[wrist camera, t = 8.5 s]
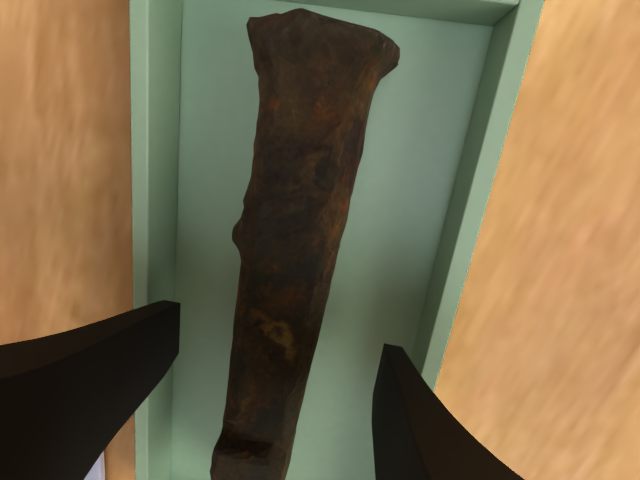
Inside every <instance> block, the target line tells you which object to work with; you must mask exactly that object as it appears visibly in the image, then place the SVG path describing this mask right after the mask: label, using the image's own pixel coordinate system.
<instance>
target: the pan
mask: <svg viewBox="0 0 640 480" xmlns="http://www.w3.org/2000/svg"><path fill="white" fill-rule="evenodd" d="M544 1H545V0H129V14H130V92H131V169H132V246H133V310H134V309H137V308H139V307H142V306H145V305H148V304H151V303H154V302H158V301H162V300H167V301H172V302H178V303H181V307H180V339H179V354H178V356H177V357H176V359H175V360H174V362H173V364H172V365H171V367H170V368H169V370H168V371H167V373H166V375H165V376H164V377H163V379H162V380H161V381H160V382H159V384H158V385H157V386H156V387H155V388H154V390H153V391H152V392H151V393H150V394H149V396H148V397H147V398H146V399H145V400H144V401H143V403H142V404H141V405H140V406H139V407H138V409H137V410H136V411H135V477H136V480H211V477H210V468H211V457H212V453H213V449H214V447H215V445H216V442H217V440H218V438H219V436H220V434H221V431H222V427H223V415H224V410H225V405H226V395H227V386H228V377H229V365H230V354H231V347H232V340H233V323H234V314H235V307H236V300H237V292H238V282H239V274H240V265H241V259H240V254H239V251H238V248H237V247H236V245H235V244H234V242H233V241H232V231H233V227H234V226H235V224H236V223H237V222H238V221H239V219H240V218H241V215H242V212H243V209H244V205H243V199H244V196H245V193H246V190H247V188H248V184H249V181H250V178H251V171H252V161H253V155H254V152H253V144H254V139H255V135H256V123H257V118H258V110H259V100H260V99H259V89H258V78H259V77H258V75H257V73H256V71H255V68H254V62H253V52H252V49H251V45H250V41H249V38H248V32H247V27H246V24H247V22H248V19H249V17H261V16H266V15H270V14H274V13H279V14H282V13H285V12H288V11H290V10H293V9H298V8H304V9H307V10H310V11H313V12H316V13H319V14H321V15H325V16H328V17H332V18H335V19H339V20H343V21H347V22H350V23H354V24H358V25H362V26H366V27H369V28H373V29H377V30H378V31H380V32H382V33H383V34H385V35H386V36H388V37H389V38H391V39H392V40H394V42H395V43H396V44H397V45H398V46H399V47H400V59H399V61H398V64H399V65H398V66H397V67H396V68H395V69H393V70H392V71H391V72H390V73H388V74H387V75H386V76H385V77H383V78H382V79H381V80H380V82H379V84H378V86H377V88H376V90H375V92H374V95H373V98H372V102H371V107H370V111H369V115H368V120H367V126H366V132H365V140H364V148H363V154H362V158H361V161H360V164H359V167H358V171H357V175H356V179H355V183H354V188H353V193H352V196H351V199H350V207H349V213H348V219H347V223H346V227H345V230H344V233H343V236H342V238H341V242H340V248H339V251H338V255H337V260H336V265H335V270H334V273H333V277H332V281H331V287H330V292H329V297H328V300H327V303H326V308H325V312H324V317H323V321H322V325H321V330H320V334H319V338H318V342H317V346H316V350H315V353H314V357H313V361H312V365H311V369H310V373H309V377H308V381H307V385H306V390H305V394H304V399H303V403H302V407H301V410H300V415H299V419H298V423H297V427H296V435H295V439H294V444H293V449H292V455H291V461H290V465H289V468H288V472H287V475H286V478H285V480H376V479H375V466H374V452H373V438H372V423H371V420H372V398H373V390H374V386H375V381H376V377H377V372H378V368H379V363H380V359H381V354H382V350H383V345H384V343H386V344H391V345H396V346H401V347H403V349H404V350H405V352H406V353H407V355H408V356H409V358H410V359H411V361H412V363H413V364H414V366H415V367H416V369H417V370H418V372H419V373H420V375H421V376H422V378H423V379H424V380H425V382H426V383H427V385H428V386H429V387H430V389H431V390H432V391H433V393H434V390H435V386H436V383H437V379H438V375H439V372H440V368H441V365H442V361H443V358H444V354H445V351H446V347H447V344H448V340H449V337H450V333H451V330H452V326H453V322H454V319H455V315H456V312H457V308H458V305H459V301H460V298H461V294H462V291H463V287H464V284H465V280H466V277H467V273H468V269H469V266H470V262H471V259H472V255H473V252H474V248H475V245H476V241H477V238H478V234H479V231H480V227H481V224H482V220H483V217H484V213H485V209H486V206H487V202H488V199H489V195H490V192H491V188H492V185H493V181H494V178H495V174H496V171H497V167H498V164H499V160H500V156H501V153H502V149H503V146H504V142H505V139H506V135H507V132H508V128H509V125H510V121H511V118H512V114H513V111H514V107H515V104H516V100H517V96H518V93H519V89H520V86H521V82H522V79H523V75H524V72H525V68H526V65H527V61H528V58H529V54H530V51H531V47H532V43H533V40H534V36H535V33H536V29H537V26H538V22H539V19H540V15H541V12H542V8H543V5H544Z"/></svg>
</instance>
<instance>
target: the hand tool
mask: <svg viewBox="0 0 640 480" xmlns="http://www.w3.org/2000/svg"><path fill="white" fill-rule="evenodd" d="M246 27H247V32H248V38H249V41H250V45H251V49H252V52H253V62H254V68H255V71H256V73H257V75H258V77H259V78H258V89H259V99H260V100H259V110H258V118H257V123H256V135H255V139H254V144H253V152H254V155H253V161H252V171H251V178H250V181H249V184H248V188H247V190H246V193H245V196H244V199H243V205H244V209H243V212H242V215H241V218H240V219H239V221H238V222H237V223H236V224H235V226H234V227H233V231H232V241H233V242H234V244H235V245H236V247H237V248H238V251H239V254H240V259H241V265H240V274H239V282H238V292H237V300H236V307H235V314H234V323H233V340H232V347H231V354H230V365H229V377H228V386H227V395H226V405H225V410H224V415H223V427H222V431H221V434H220V436H219V438H218V440H217V442H216V445H215V447H214V449H213V453H212V457H211V468H210V477H211V480H285V478H286V475H287V472H288V468H289V465H290V461H291V455H292V449H293V444H294V439H295V435H296V427H297V423H298V419H299V415H300V410H301V407H302V403H303V399H304V394H305V390H306V385H307V381H308V377H309V373H310V369H311V365H312V361H313V357H314V353H315V350H316V346H317V342H318V338H319V334H320V330H321V325H322V321H323V317H324V312H325V308H326V303H327V300H328V297H329V292H330V287H331V281H332V277H333V273H334V270H335V265H336V260H337V255H338V251H339V248H340V242H341V238H342V236H343V233H344V230H345V227H346V223H347V219H348V213H349V207H350V199H351V196H352V193H353V188H354V183H355V179H356V175H357V171H358V167H359V164H360V161H361V158H362V154H363V148H364V140H365V132H366V126H367V120H368V115H369V111H370V107H371V102H372V98H373V95H374V92H375V90H376V88H377V86H378V84H379V82H380V80H381V79H382V78H383V77H385V76H386V75H387V74H388V73H390V72H391V71H392V70H393V69H395V68H396V67H397V66H398V65H399V64H398V61H399V59H400V47H399V46H398V45H397V44H396V43H395V42H394V40H392V39H391V38H389V37H388V36H386V35H385V34H383V33H382V32H380V31H378V30H377V29H373V28H369V27H366V26H362V25H358V24H354V23H350V22H347V21H343V20H339V19H335V18H332V17H328V16H325V15H321V14H319V13H316V12H313V11H310V10H307V9H304V8H298V9H293V10H290V11H288V12H285V13H282V14H279V13H274V14H270V15H266V16H261V17H249V19H248V22H247V24H246Z"/></svg>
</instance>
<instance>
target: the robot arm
mask: <svg viewBox="0 0 640 480" xmlns="http://www.w3.org/2000/svg"><path fill="white" fill-rule="evenodd" d="M180 307H181V303H178V302H172V301H167V300H162V301H158V302H154V303H151V304H148V305H145V306H142V307H139V308H137V309H134V310H131V311H128V312H125V313H122V314H119V315H117V316H114V317H111V318H108V319H105V320H102V321H99V322H95V323H92V324H89V325H86V326H83V327H80V328H76V329H73V330H69V331H66V332H62V333H58V334H54V335H50V336H46V337H41V338H37V339H32V340H27V341H22V342H16V343H11V344H5V345H0V480H105V463H104V450H105V448H106V447H107V445H108V444H109V442H110V441H111V440H112V439H113V437H114V436H115V435H116V434H117V432H118V431H119V430H120V429H121V427H122V426H123V425H124V424H125V423H126V421H127V420H128V419H129V418H130V417H131V416H132V414H133V413H134V412H135V411H136V410H137V409H138V407H139V406H140V405H141V404H142V403H143V401H144V400H145V399H146V398H147V397H148V396H149V394H150V393H151V392H152V391H153V390H154V388H155V387H156V386H157V385H158V384H159V382H160V381H161V380H162V379H163V377H164V376H165V375H166V373H167V371H168V370H169V368H170V367H171V365H172V364H173V362H174V360H175V359H176V357H177V356H178V354H179V339H180ZM371 423H372V438H373V452H374V466H375V479H376V480H524V479H523V478H522V477H520V476H519V475H518V474H516V473H515V472H514V471H512V470H511V469H510V468H509V467H507V466H506V465H505V464H504V463H502V462H501V461H500V460H499V459H498V458H496V457H495V456H494V455H493V454H492V453H491V452H490V451H488V450H487V449H486V448H485V447H484V446H483V445H482V444H481V443H479V442H478V441H477V440H476V439H475V438H474V437H473V436H472V435H471V434H470V433H469V432H468V431H467V430H466V429H465V428H464V427H463V426H462V425H461V424H460V423H459V422H458V421H457V420H456V419H455V418H454V417H453V415H452V414H451V413H450V412H449V411H448V410H447V409H446V407H445V406H444V405H443V404H442V403H441V401H440V400H439V399H438V398H437V396H436V395H435V394H434V393H433V391H432V390H431V389H430V387H429V386H428V385H427V383H426V382H425V380H424V379H423V378H422V376H421V375H420V373H419V372H418V370H417V369H416V367H415V366H414V364H413V363H412V361H411V359H410V358H409V356H408V355H407V353H406V352H405V350H404V349H403V347H401V346H396V345H391V344H386V343H384V345H383V350H382V354H381V359H380V363H379V368H378V372H377V377H376V381H375V386H374V390H373V398H372V420H371Z"/></svg>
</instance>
